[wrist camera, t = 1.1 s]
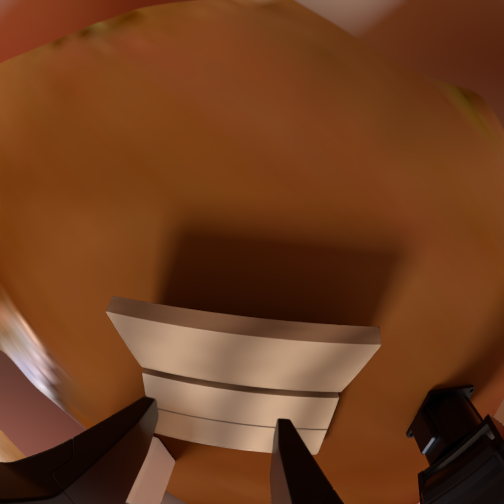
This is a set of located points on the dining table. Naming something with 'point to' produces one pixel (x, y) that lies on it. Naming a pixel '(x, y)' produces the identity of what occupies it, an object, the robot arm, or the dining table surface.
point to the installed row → (235, 412)
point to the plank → (243, 347)
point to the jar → (152, 475)
